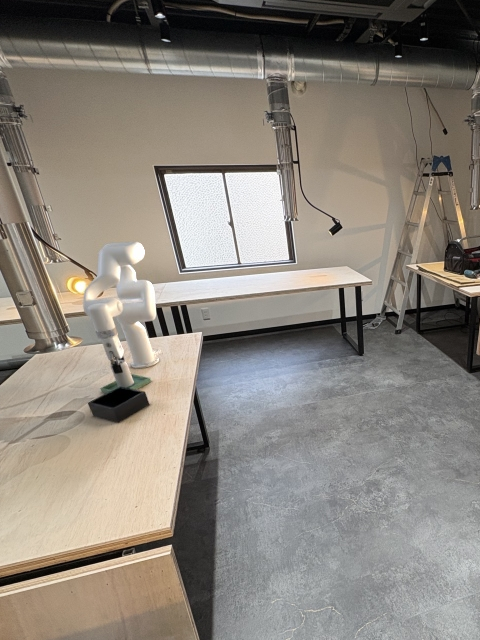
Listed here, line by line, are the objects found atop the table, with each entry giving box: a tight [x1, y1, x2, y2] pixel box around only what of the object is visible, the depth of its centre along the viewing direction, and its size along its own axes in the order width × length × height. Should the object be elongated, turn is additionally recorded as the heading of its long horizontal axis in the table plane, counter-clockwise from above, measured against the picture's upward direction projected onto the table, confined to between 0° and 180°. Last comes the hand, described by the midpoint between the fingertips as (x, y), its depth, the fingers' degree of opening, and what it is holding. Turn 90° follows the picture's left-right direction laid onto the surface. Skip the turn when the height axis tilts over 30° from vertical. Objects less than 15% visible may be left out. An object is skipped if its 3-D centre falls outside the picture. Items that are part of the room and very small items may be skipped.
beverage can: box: [110, 359, 134, 388], centre depth 185 cm, size 6×6×12 cm
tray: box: [99, 373, 152, 394], centre depth 188 cm, size 15×13×2 cm
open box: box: [87, 386, 151, 424], centre depth 168 cm, size 15×15×6 cm
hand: (120, 368), depth 184 cm, fingers open, 9 cm apart
